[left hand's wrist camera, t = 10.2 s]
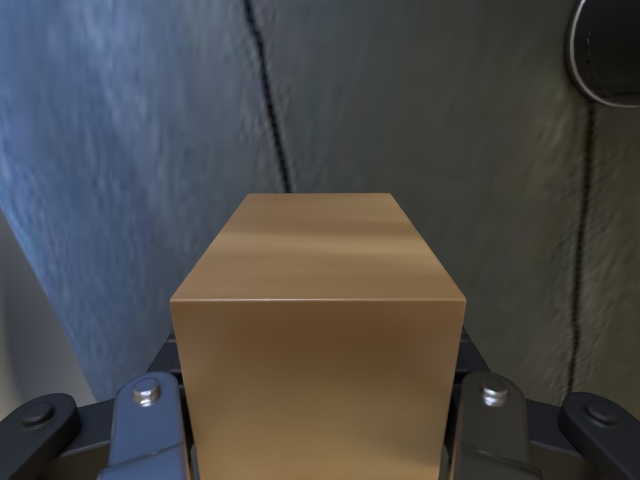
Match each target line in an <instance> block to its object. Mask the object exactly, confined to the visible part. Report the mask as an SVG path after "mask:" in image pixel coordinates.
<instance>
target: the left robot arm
mask: <svg viewBox="0 0 640 480" xmlns="http://www.w3.org/2000/svg"><path fill="white" fill-rule="evenodd" d="M565 57H566V63H567V68H568V71H569V74H570V76H571V78H572V80H573V82H574V84H575V85H576V87H577V88H578V89H579V90H580V92H581V93H583V94H584V95H585V96H586V97H587V98H589V99H590V100H592V101H594V102H596V103H598V104H601V105H604V106H609V107H624V108H628V107H638V106H640V0H577V1H576V3H575V6H574V8H573V10H572V13H571V16H570V19H569V22H568V26H567V31H566V37H565ZM193 443H194V440H193V434H192V428H191V423H190V417H189V411H188V405H187V400H186V394H185V388H184V382H183V377H182V371H181V365H180V360H179V354H178V348H177V342H176V337H175V331H174V329H173V331H172V334H170V335H169V337H168V339H167V340H166V343H164V345H163V346H162V348H161V350H160V351H159V353H158V354H157V356H156V358H155V359H154V361H153V362H152V364H151V366H150V367H149V369H148V370H147V372H146V373H145V374H142V375H139V376H137V377H135V378H133V379H131V380H130V381H128V382H127V383H126V384H124V385H123V386H122V387H121V388H120V390H119V391H118V392H117V394H116V396H115V398H113V399H111V400H107V401H104V402H100V403H95V404H91V405H87V406H83V407H78V408H77V406H76V403H75V400H74V398H73V397H72V396H70V395H68V394H64V393H54V394H48V395H44V396H41V397H38V398H35V399H33V400H31V401H29V402H27V403H25V404H23V405H21V406H20V407H18V408H17V409H15V410H14V411H13V412H11V413H10V414H9V415H8V416H7V417H6V418H4V419H3V420H2V421H1V422H0V480H194V473H193V465H192V459H191V453H190V451H191V448H192V446H193ZM444 444H445V447H446V449H447V452H448V455H449V459H448V465H447V473H446V480H640V422H639V421H638V420H637V419H636V418H634V417H633V416H632V415H631V414H630V413H629V412H627V411H626V410H625V409H623V408H622V407H621V406H619V405H618V404H616V403H614V402H612V401H610V400H608V399H606V398H604V397H601V396H598V395H595V394H592V393H586V392H574V393H570V394H568V395H567V396H566V397H565V398H564V400H563V404H562V407H558V406H554V405H549V404H545V403H541V402H537V401H532V400H529V399H526V398H525V396H524V394H523V392H522V391H521V390H520V388H519V387H518V386H517V385H516V384H514V383H513V382H512V381H510V380H509V379H507V378H505V377H503V376H501V375H498V374H495V373H492V372H491V371H490V369H489V368H488V366H487V364H486V363H485V361H484V360H483V358H482V356H481V355H480V353H479V351H478V350H477V348H476V347H475V345H474V343H473V342H472V341H471V339H470V337H469V335H468V334H467V333H466V330H465V329H464V327H463V326H462V331H461V338H460V344H459V350H458V356H457V363H456V369H455V375H454V381H453V388H452V394H451V400H450V406H449V413H448V419H447V425H446V431H445V438H444Z"/></svg>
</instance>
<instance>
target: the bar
mask: <svg viewBox="0 0 640 480" xmlns="http://www.w3.org/2000/svg"><path fill="white" fill-rule="evenodd" d="M169 302H170V308H171V314H172V320H173V325H174V331H175V337H176V342H177V348H178V354H179V360H180V365H181V371H182V377H183V382H184V388H185V394H186V400H187V405H188V411H189V417H190V423H191V428H192V434H193V440H194V445H195V451H196V457H197V463H198V468H199V474H200V480H438V475H439V469H440V463H441V456H442V450H443V444H444V438H445V431H446V425H447V419H448V413H449V406H450V400H451V394H452V388H453V381H454V375H455V369H456V363H457V356H458V350H459V344H460V338H461V331H462V325H463V319H464V313H465V306H466V298H465V296H464V295H463V294H462V292H461V291H460V290H459V288H458V287H457V285H456V284H455V283H454V281H453V280H452V278H451V277H450V276H449V274H448V273H447V272H446V270H445V269H444V267H443V266H442V265H441V263H440V262H439V260H438V259H437V258H436V256H435V255H434V254H433V252H432V251H431V249H430V248H429V247H428V245H427V244H426V242H425V241H424V240H423V238H422V237H421V236H420V234H419V233H418V231H417V230H416V229H415V227H414V226H413V224H412V223H411V222H410V220H409V219H408V217H407V216H406V215H405V213H404V212H403V211H402V209H401V208H400V206H399V205H398V204H397V202H396V201H395V199H394V198H393V197H392V195H391V194H390V193H311V194H248V195H247V196H246V197H245V199H244V200H243V201H242V203H241V204H240V205H239V207H238V208H237V209H236V211H235V212H234V213H233V215H232V216H231V217H230V219H229V220H228V222H227V223H226V224H225V226H224V227H223V228H222V230H221V231H220V232H219V234H218V235H217V236H216V238H215V239H214V240H213V242H212V243H211V245H210V246H209V247H208V249H207V250H206V251H205V253H204V254H203V255H202V257H201V258H200V259H199V261H198V262H197V263H196V265H195V266H194V268H193V269H192V270H191V272H190V273H189V274H188V276H187V277H186V278H185V280H184V281H183V282H182V284H181V285H180V286H179V288H178V289H177V291H176V292H175V293H174V295H173V296H172V297H171V299H170V301H169Z"/></svg>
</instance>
